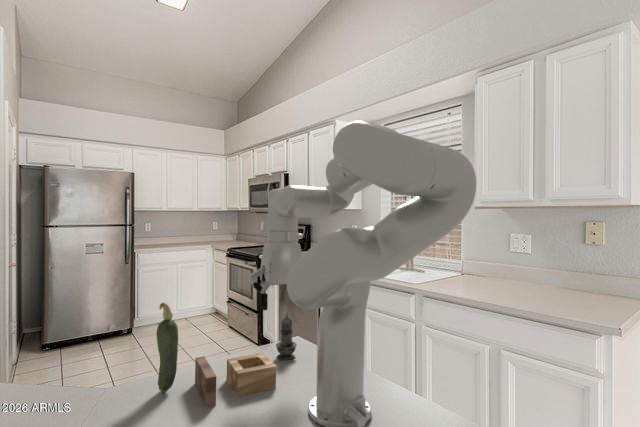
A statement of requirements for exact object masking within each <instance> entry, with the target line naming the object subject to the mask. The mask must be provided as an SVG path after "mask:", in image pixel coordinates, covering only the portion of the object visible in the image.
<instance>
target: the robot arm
mask: <svg viewBox="0 0 640 427" xmlns="http://www.w3.org/2000/svg"><path fill="white" fill-rule="evenodd" d="M332 154H333V158H331V159H330V160H329V161H328V163H327V164H326V166H325V177H326V181H327V183H328V185H326V186H324V187H317V186H308V185H296V184H291V185H290V184H289V185H286V186H283V187H282V188H273V189H271V190H270V191H269V192H268V196H267V197H268V198H267V200H268V201H267V243H264V245H263V248H262V253H261V262H260V268H258V269H256V270H254V271H253V272H251V273H250V274H248V275H247V278H248V280H249V282H250V283H251V286H252V287H253V288H254V289H255V290H256V291H257V292H258V306H259V308H260V309H261V310H263V311H267V310H268V293H267V291H268V290H269V288H270V287H271V286H280V285H286V289H287V294H288V297H289V298H290V299H291V301H292V303H293V304H295V306H297V307H298V308H301V309H303V310H317V309H320V308H321V312H320V315H319V319H318V323H317V348H316V349H317V350H316V352H317V353H316V354H317V355H316V356H317V357H316V395H315V396H314V397H313V398H312V399H311V400H310V401H309V403H308V414H309V416H310V418H311V419H312V420H313V421H314V422H315V423H317V424H318V425H320V426H323V427H365V425H366V423H367V422H368V421H369V420H370V419H371V418H372V416H373V414H372V407H371V405H370V404H369V402H368V401H367V399H366V396H365V395H364V391H365V390H364V387H365V386H364V385H365V382H364V380H365V379H364V377H365V376H364V374H365V333H366V332H365V331H366V330H365V329H366V314H367V313H366V311H367V305H368V299H369V295H370V289H371V282H372V281H373V282H374V281H377V280H381V279H384V278H385V277H388V276H389V275H391V274H392V273H394V272H395V271H396V270H398V269H399V268H400V267H402V266H404V265H405V264H407V263H408V262H409V261H411V260H413V259H414V258H416V257H417V256H418V255H420V254H421V253H422V252H423V251H425V250H427V249H428V248H429V247H431V246H433V245H434V244H436V243H437V242H438V241H440V240H441V239H443V238H445V237H446V236H447V235H448V234H450V233H452V231H454V229H456V228H457V227H458V226H459V224H461V223H462V221H464V219H465V217H466V216H467V215H468V213H469V212H470V210H471V208H472V206H473V204H474V202H475V201H474V200H475V197H476V193H477V175H476V171H475V169H474V167H473V164H472V162H471V161H470V160H469V158H468V157H467V156H465V155H464V154H463V153H461V152H460V151H459V150H457V149H454V148H451V147H448V146H445V145H442V144H439V143H438V144H437V143H433V142H430V141H427V140H424V139H419V138H416V137H412V136H409V135H406V134H403V133H399V132H398V131H397V130H394V129H392V128H390V127H386V126H382V125H379V124H376V123H372V122H368V121H366V120H354V121H350V122H349V123H346V124H345V125H344V126H343V127H341V128H340V129H339V131H338V132H337V133H336V135H335V137H334V140H333V143H332ZM372 185H374V186H376V187H378V188H381V189H383V190H385V191H388V192H390V193H394V194H396V195H401V196H408V197H414V198H412V199H410V200H408V201H407V202H405V203H402V204H401V205H399V206H397V208H394V209H393V210H392V211H390V212H389V213H388V214H387V215H386V216H385V217H383V218H382V219H381V220H380V221H378V222H376V223H375V224H373V225H371V226H367V227H344V228H339V229H338V228H337V229H335V230H331V231H330V232H328V233H326V234H325V235H324V236H321V238H320V239H318V240H317V242H315V243H314V244H313V245H312V246H311V247H310V248H309V249H308V250H307V251H306V252H304V253H303V254H302V246H301V244H300V243H298V242H299V240H300V239H301V240H302V239H303V233H299V219H304V218H305V219H307V218H308V219H324V218H325V219H326V218H328V217H331V216H333V215H336V214H337V213H340V212H341V211H343V210H345V209H346V208H348V207H349V206H350V204H351V203H352V201H353V200H354V197H355V194H357V193H359V192H360V191H362V190H365V189H367V188H369V187H370V186H372ZM258 277H260V283H259V282H258V280H257V278H258Z"/></svg>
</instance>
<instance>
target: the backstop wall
mask: <svg viewBox="0 0 640 427" xmlns="http://www.w3.org/2000/svg"><path fill="white" fill-rule="evenodd" d="M194 363H195V367H194V369H195V372H194V373H195V374H194V385H195V387H196V389H197V391H198V394H199V396H200V398H201V401H202V403H203V405H204V407H205V408H210V407H215V406H216V405H217V375H216V373H215V372H214V369H213V368H212V366H211V365H210V363H209V361H208V360H207V358H206V357H205V356H200V357H195V362H194Z"/></svg>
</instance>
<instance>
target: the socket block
mask: <svg viewBox="0 0 640 427" xmlns="http://www.w3.org/2000/svg"><path fill="white" fill-rule="evenodd" d="M226 382H227V383H228V385H229V387H230V388H231V389H232V391H233V392H234V394H235V396H236V397H241V396H247V395H251V394H256V393H259V392H260V393H261V392H263V391H268V390H273V389H276V388H277V365H276V364H275V363H274V362H273V361H272V360H271V359H269V358H268V356H266V354H265V353H264V352H261V353H254V354H248V355H243V356H238V357H231V358H227V359H226Z"/></svg>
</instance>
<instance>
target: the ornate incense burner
mask: <svg viewBox="0 0 640 427" xmlns="http://www.w3.org/2000/svg"><path fill="white" fill-rule="evenodd" d="M279 332H280V336H281V337H280V341H279V342H277V343H275V347H276V350H277V352H278V353H279V354H278V355H277V356H276V359H277V360H278V361H281V362H290V361H293V360H295V359H296V355H295V354H294V352H295V350H296V348H297V346H298V345H297V343H296V342H294V341H293V333H294V330H293V321H292V319H291V318H289V316H288V314H285V318H284V317H283V319H282V320H281V329H280V330H279Z"/></svg>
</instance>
